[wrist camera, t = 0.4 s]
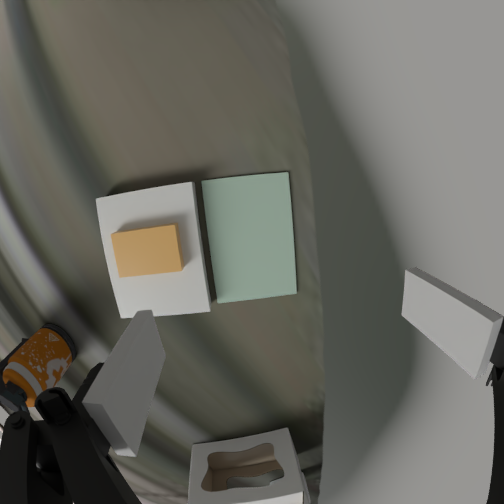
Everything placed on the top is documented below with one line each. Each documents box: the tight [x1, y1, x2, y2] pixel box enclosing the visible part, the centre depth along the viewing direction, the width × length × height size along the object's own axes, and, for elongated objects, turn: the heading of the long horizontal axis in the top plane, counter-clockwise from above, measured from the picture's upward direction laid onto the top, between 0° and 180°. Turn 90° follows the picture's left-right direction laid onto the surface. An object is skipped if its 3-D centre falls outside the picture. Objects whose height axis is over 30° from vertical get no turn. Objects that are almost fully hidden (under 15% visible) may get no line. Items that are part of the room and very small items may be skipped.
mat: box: [201, 172, 297, 303], centre depth 39 cm, size 18×12×1 cm, turn 6°
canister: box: [0, 324, 76, 414], centre depth 32 cm, size 9×11×20 cm
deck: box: [96, 182, 211, 318], centre depth 37 cm, size 18×14×3 cm
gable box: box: [188, 428, 310, 504], centre depth 38 cm, size 22×13×28 cm, turn 105°
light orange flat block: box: [111, 223, 184, 278], centre depth 35 cm, size 9×6×2 cm, turn 96°
